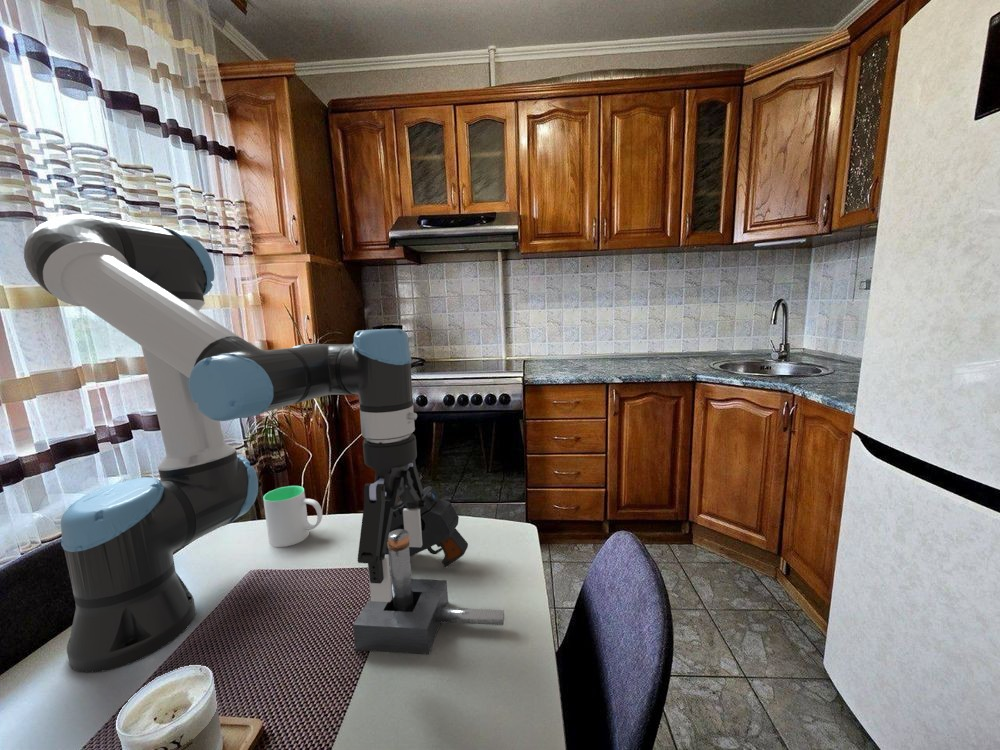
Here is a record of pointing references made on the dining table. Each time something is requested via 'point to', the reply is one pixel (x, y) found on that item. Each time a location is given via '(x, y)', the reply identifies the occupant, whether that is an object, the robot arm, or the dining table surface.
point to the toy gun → (434, 527)
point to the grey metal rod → (400, 570)
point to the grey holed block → (414, 620)
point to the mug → (288, 515)
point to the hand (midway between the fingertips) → (399, 570)
